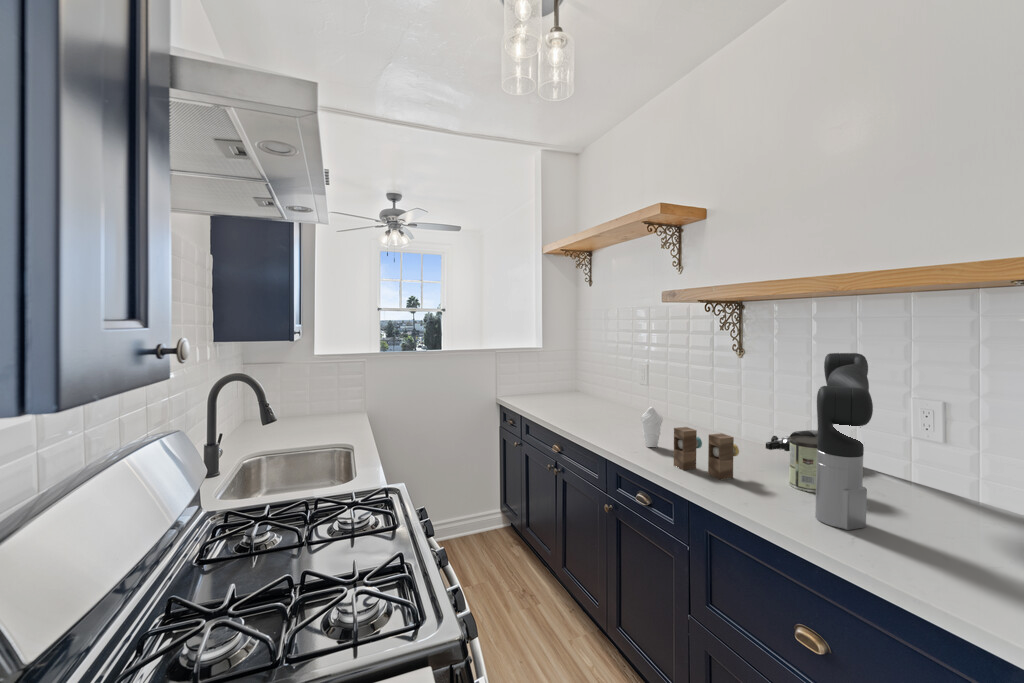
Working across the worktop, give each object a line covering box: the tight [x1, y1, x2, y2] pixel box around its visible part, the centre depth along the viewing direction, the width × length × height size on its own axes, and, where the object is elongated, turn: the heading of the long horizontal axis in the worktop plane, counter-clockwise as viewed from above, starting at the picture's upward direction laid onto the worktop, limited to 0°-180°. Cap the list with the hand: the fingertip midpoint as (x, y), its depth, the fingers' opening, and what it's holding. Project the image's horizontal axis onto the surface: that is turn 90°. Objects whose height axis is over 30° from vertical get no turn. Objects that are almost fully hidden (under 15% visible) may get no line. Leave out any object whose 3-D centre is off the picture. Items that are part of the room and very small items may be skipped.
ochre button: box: [713, 443, 740, 457], centre depth 143 cm, size 4×7×4 cm, turn 106°
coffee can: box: [788, 436, 818, 494], centre depth 134 cm, size 10×10×14 cm
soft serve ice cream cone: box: [640, 406, 664, 448], centre depth 177 cm, size 8×8×16 cm
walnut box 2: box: [707, 432, 735, 481], centre depth 143 cm, size 5×5×13 cm
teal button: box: [678, 436, 703, 449], centre depth 153 cm, size 4×7×4 cm, turn 106°
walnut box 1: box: [673, 426, 698, 471], centre depth 152 cm, size 5×5×13 cm
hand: (767, 446), depth 148 cm, fingers closed
